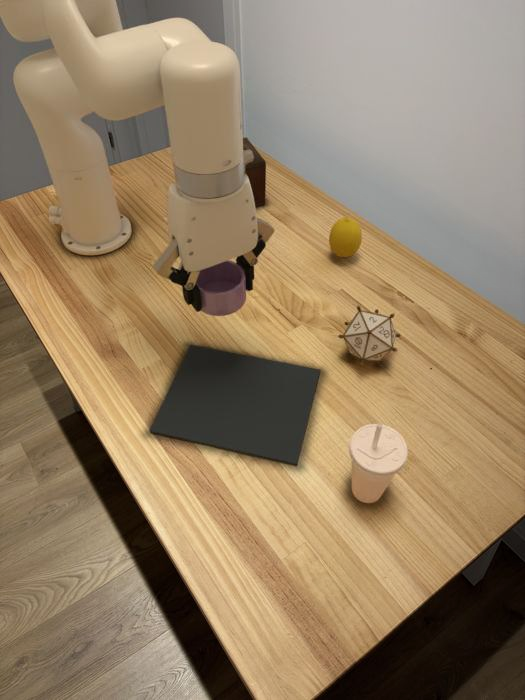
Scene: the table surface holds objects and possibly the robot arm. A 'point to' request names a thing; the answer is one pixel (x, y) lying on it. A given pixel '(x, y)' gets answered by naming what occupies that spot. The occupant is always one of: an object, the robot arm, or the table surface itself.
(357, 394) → the table surface
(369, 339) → the game die
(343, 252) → the lemon
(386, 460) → the smoothie
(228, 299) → the dish
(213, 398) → the mat
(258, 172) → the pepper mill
